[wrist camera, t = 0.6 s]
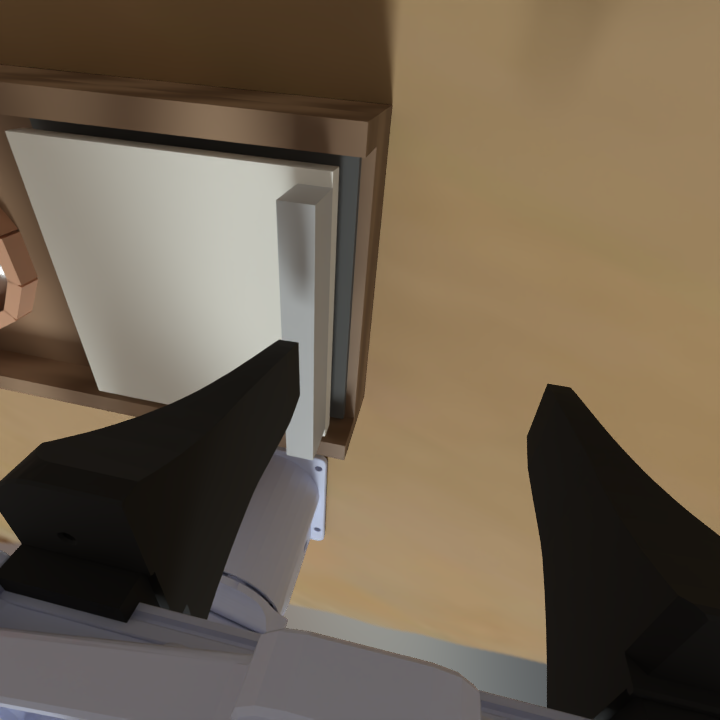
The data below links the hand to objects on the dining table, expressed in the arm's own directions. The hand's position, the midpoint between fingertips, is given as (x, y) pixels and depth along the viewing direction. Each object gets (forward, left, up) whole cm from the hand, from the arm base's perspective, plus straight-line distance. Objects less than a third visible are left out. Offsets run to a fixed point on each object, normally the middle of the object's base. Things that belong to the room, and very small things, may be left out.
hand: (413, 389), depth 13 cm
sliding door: (-1, +10, -5) cm, 11 cm away
